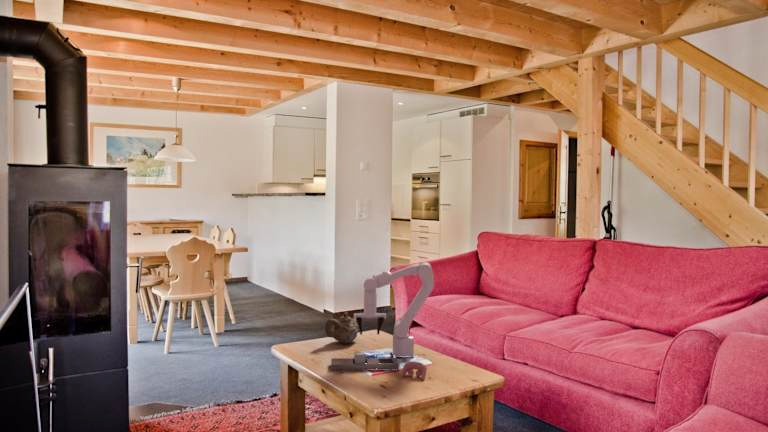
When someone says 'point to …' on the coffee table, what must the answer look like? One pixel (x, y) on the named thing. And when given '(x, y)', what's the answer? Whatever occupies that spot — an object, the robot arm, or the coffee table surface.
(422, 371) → the video game controller
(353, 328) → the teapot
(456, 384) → the coffee table surface
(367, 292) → the robot arm
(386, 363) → the rail
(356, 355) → the peg
